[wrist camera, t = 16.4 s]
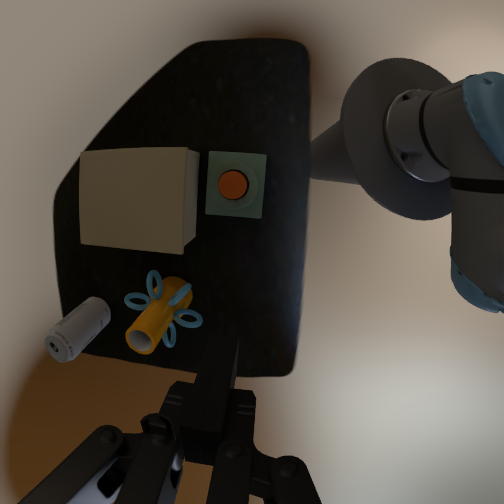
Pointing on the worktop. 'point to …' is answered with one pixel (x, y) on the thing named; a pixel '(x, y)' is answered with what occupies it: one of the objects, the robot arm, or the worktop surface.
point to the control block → (255, 176)
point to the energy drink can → (77, 329)
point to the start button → (232, 185)
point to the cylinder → (160, 313)
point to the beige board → (134, 198)
